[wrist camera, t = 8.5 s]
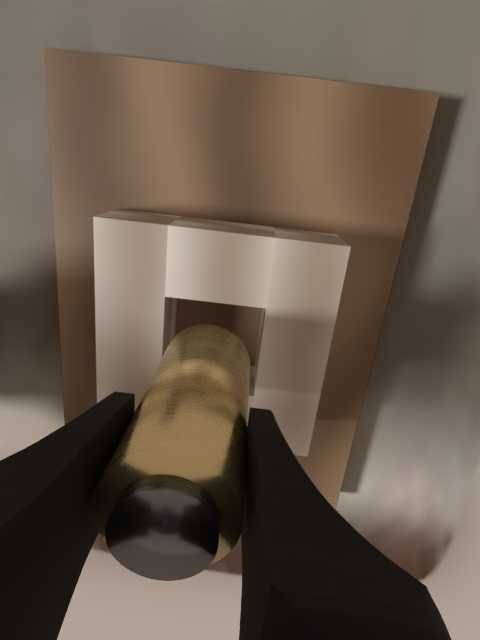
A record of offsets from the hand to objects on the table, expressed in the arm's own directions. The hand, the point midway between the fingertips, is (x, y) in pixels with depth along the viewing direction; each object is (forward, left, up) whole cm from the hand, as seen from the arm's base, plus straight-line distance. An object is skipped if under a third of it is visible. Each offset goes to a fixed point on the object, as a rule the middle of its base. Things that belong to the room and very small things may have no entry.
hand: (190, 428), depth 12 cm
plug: (0, 0, -4) cm, 4 cm away
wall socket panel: (0, 0, -10) cm, 10 cm away
